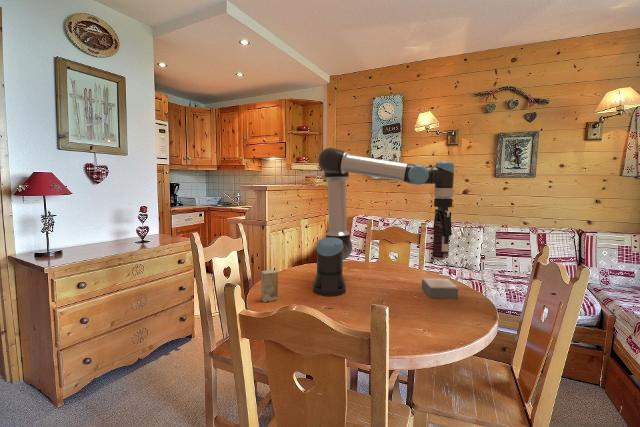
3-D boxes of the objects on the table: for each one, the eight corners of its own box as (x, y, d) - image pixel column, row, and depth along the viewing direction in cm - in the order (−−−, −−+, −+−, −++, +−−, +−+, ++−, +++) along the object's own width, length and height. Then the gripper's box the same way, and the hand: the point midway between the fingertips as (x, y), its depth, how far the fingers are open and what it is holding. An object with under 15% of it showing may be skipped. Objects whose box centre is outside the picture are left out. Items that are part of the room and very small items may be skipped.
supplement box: (443, 260, 138) (445, 223, 136) (432, 258, 141) (433, 222, 139) (449, 256, 145) (450, 221, 143) (438, 255, 148) (439, 220, 146)
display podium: (429, 297, 139) (429, 286, 138) (421, 288, 151) (422, 278, 150) (457, 298, 138) (458, 287, 138) (447, 289, 150) (448, 278, 150)
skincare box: (263, 302, 132) (263, 273, 131) (260, 299, 136) (260, 271, 135) (278, 300, 135) (278, 271, 134) (275, 296, 139) (274, 269, 138)
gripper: (462, 199, 129) (459, 254, 131) (443, 196, 151) (441, 243, 153) (443, 199, 129) (440, 254, 132) (427, 196, 151) (425, 243, 154)
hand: (441, 248), depth 143 cm, fingers closed on supplement box, 9 cm apart
